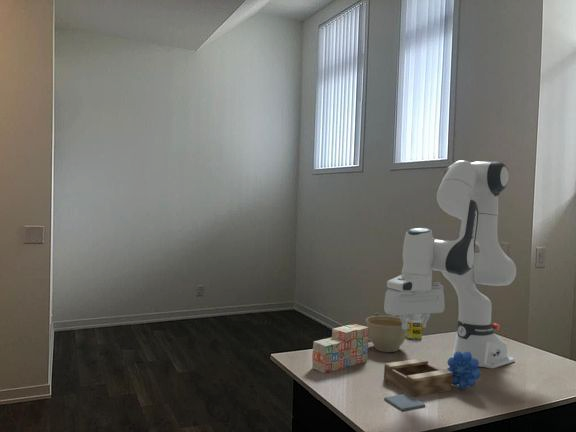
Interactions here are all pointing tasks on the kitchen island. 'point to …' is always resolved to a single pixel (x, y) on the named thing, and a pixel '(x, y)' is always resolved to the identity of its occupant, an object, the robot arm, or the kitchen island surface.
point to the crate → (417, 377)
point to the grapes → (464, 369)
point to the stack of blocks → (341, 348)
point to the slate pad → (404, 402)
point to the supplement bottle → (414, 328)
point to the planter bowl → (386, 332)
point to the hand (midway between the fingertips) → (413, 328)
